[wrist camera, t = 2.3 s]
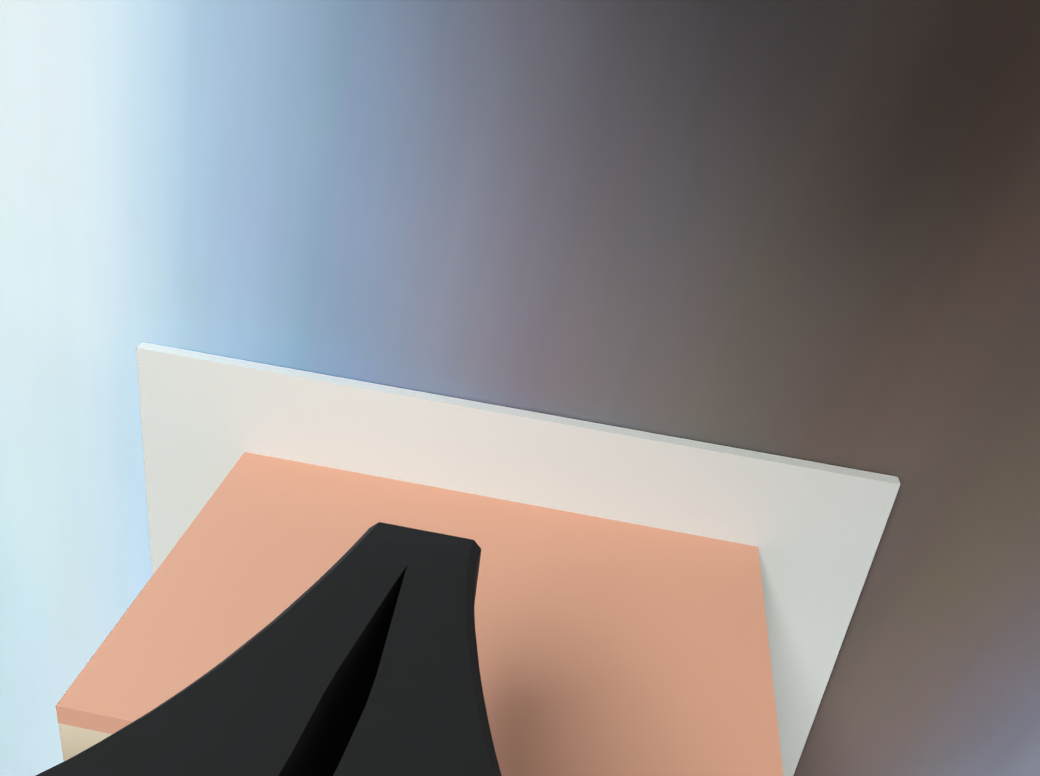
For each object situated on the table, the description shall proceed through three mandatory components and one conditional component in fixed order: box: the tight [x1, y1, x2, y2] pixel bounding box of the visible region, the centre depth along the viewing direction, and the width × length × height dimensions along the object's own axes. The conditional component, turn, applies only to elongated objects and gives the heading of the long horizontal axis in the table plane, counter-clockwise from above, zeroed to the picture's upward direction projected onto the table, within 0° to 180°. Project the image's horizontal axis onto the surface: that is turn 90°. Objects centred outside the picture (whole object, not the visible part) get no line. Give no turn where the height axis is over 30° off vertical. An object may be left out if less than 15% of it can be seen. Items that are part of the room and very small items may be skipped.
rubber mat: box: [136, 342, 900, 776], centre depth 25 cm, size 17×15×1 cm
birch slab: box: [56, 452, 783, 776], centre depth 20 cm, size 2×12×8 cm, turn 83°
